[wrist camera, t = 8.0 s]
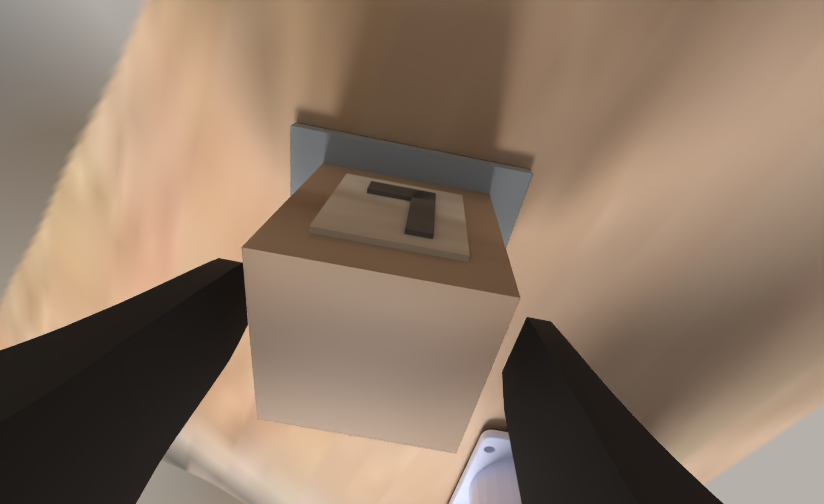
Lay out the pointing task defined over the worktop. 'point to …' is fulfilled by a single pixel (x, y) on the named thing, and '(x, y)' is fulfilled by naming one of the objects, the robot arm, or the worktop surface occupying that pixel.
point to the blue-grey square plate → (410, 167)
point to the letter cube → (377, 307)
